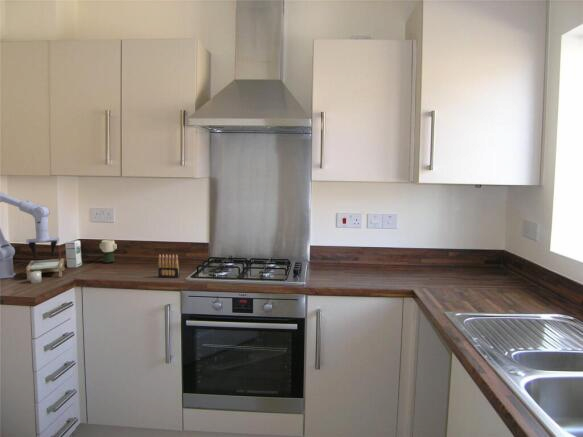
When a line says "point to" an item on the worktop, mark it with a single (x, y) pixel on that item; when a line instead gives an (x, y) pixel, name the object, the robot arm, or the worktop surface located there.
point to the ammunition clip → (168, 267)
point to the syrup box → (73, 253)
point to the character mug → (108, 250)
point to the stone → (35, 277)
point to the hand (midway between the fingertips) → (44, 256)
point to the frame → (59, 268)
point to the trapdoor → (45, 264)
